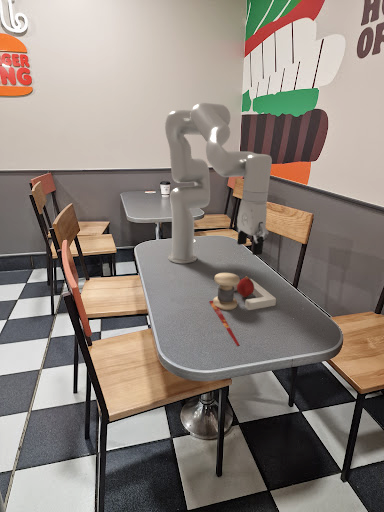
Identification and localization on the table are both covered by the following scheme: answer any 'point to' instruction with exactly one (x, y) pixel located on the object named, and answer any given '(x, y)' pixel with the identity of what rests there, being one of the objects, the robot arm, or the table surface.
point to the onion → (245, 287)
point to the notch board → (259, 298)
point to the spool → (226, 291)
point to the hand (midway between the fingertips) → (249, 249)
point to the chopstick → (224, 322)
